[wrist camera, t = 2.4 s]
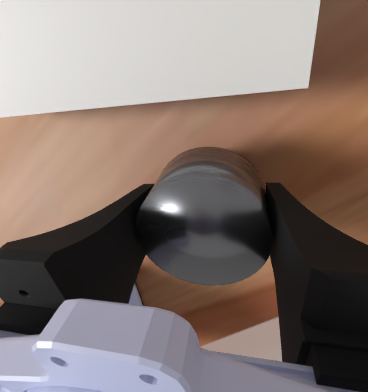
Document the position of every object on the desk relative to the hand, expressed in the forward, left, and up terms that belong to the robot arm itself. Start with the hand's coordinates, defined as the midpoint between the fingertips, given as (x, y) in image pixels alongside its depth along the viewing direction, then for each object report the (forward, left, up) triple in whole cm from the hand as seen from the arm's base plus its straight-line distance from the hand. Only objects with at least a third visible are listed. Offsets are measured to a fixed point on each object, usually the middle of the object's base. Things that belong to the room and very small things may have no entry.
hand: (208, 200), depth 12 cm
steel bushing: (0, 0, -3) cm, 3 cm away
